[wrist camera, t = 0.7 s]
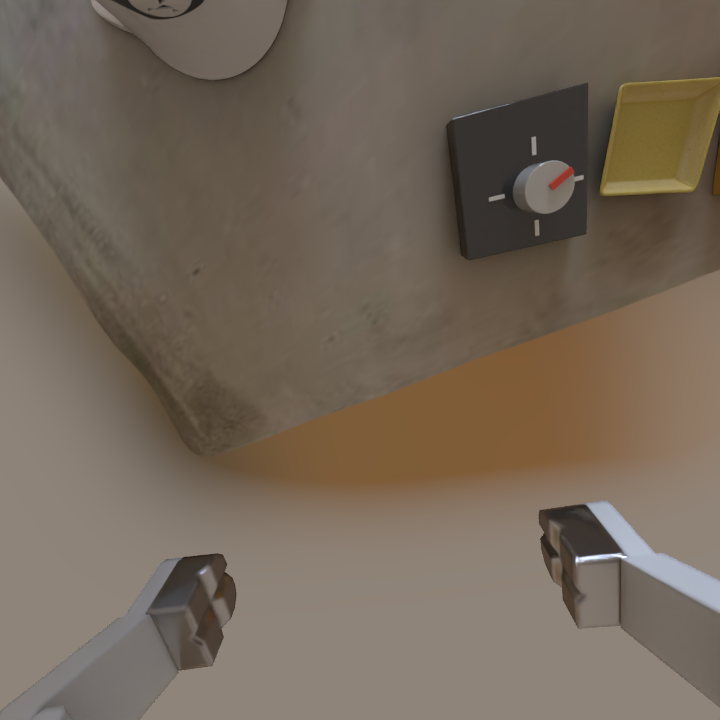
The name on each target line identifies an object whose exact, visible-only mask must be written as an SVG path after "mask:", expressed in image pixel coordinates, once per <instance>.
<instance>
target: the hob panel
mask: <svg viewBox="0 0 720 720" xmlns="http://www.w3.org/2000/svg"><path fill="white" fill-rule="evenodd" d="M446 128H447V136H448V145H449V154H450V162H451V171H452V179H453V188H454V196H455V205H456V214H457V222H458V231H459V239H460V248H461V256H463V257H464V258H466V259H467V260H472V259H476V258H481V257H485V256H490V255H494V254H499V253H503V252H508V251H512V250H517V249H521V248H526V247H531V246H535V245H540V244H544V243H549V242H553V241H558V240H562V239H567V238H571V237H576V236H580V235H585V234H586V221H587V136H588V83H585V84H581V85H577V86H573V87H570V88H566V89H562V90H558V91H555V92H551V93H547V94H543V95H540V96H536V97H532V98H528V99H525V100H521V101H517V102H513V103H510V104H506V105H502V106H498V107H494V108H491V109H487V110H483V111H479V112H476V113H472V114H468V115H464V116H461V117H457V118H453V119H452V120H451V121H450V122H449V123H448V124H447V125H446ZM552 160H556V161H561V162H564V163H565V164H567V165H568V166H569V167H572V169H573V170H574V173H573V174H574V178H575V185H574V190H573V193H572V195H571V197H570V199H569V200H568V202H567V203H566V204H565V205H564V206H563V207H562V208H560V209H559V210H557V211H555V212H553V213H549V214H539V213H529V212H525V211H523V210H521V209H520V208H519V207H518V206H517V205H516V203H515V201H514V199H513V186H514V183H515V181H516V179H517V177H518V175H519V174H520V173H521V172H522V171H523V170H524V169H525V168H527V167H528V166H531V165H533V164H537V163H542V162H547V161H552Z"/></svg>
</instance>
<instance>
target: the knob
mask: <svg viewBox="0 0 720 720" xmlns="http://www.w3.org/2000/svg"><path fill="white" fill-rule="evenodd" d="M573 173H574V170H573V169H572V167H569V166H568V165H567V164H565V163H564V162H561V161H556V160H552V161H547V162H542V163H537V164H533V165H531V166H528V167H527V168H525V169H524V170H523V171H522V172H521V173H520V174H519V175H518V177H517V179H516V181H515V183H514V186H513V199H514V201H515V203H516V205H517V206H518V207H519V208H520V209H521V210H523V211H525V212H529V213H539V214H549V213H553V212H555V211H557V210H559V209H560V208H562V207H563V206H564V205H565V204H566V203H567V202H568V200H569V199H570V197H571V195H572V193H573V190H574V185H575V178H574V174H573Z"/></svg>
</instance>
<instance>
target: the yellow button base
mask: <svg viewBox="0 0 720 720" xmlns="http://www.w3.org/2000/svg"><path fill="white" fill-rule="evenodd" d="M712 194H713V195H720V140H719V147H718V155H717V162H716V170H715V177H714V185H713V192H712Z"/></svg>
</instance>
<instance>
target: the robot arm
mask: <svg viewBox="0 0 720 720" xmlns="http://www.w3.org/2000/svg"><path fill="white" fill-rule="evenodd" d="M90 1H91V4H92V6H93V8H94V9H95V11H96V12H97V13H98V14H99V15H100V16H101V17H103V18H104V19H105V20H106V21H107V22H109V23H110V24H112V25H114V26H116V27H118V28H120V29H122V30H125V31H127V32H130V33H132V34H134V35H135V36H137V37H138V38H139V39H140V40H142V41H143V42H144V43H145V44H146V45H147V46H148V47H149V48H150V49H151V50H152V51H153V52H154V53H155V54H156V55H157V56H158V57H159V58H160V59H161V60H163V61H164V62H165V63H167V64H168V65H170V66H171V67H173V68H174V69H176V70H178V71H180V72H182V73H184V74H186V75H189V76H192V77H195V78H200V79H206V80H221V79H227V78H230V77H234V76H236V75H239V74H241V73H243V72H245V71H246V70H248V69H249V68H251V67H252V66H253V65H255V64H256V63H257V62H258V61H259V60H260V59H261V58H262V57H263V56H264V55H265V53H266V52H267V51H268V49H269V48H270V47H271V45H272V43H273V42H274V40H275V38H276V36H277V34H278V31H279V29H280V27H281V24H282V21H283V17H284V14H285V10H286V5H287V1H288V0H90ZM539 524H540V526H541V528H542V529H543V531H544V534H543V536H542V537H541V539H540V540H541V549H542V553H543V557H544V561H545V564H546V567H547V569H548V571H549V573H550V576H551V578H552V580H553V581H554V582H555V583H556V584H558V585H559V586H560V587H562V593H563V601H564V602H565V605H566V606H567V608H568V610H569V612H570V614H571V616H572V618H573V619H574V622H575V623H576V625H577V627H578V628H579V629H581V628H595V627H609V626H621V628H622V629H623V630H624V631H625V632H627V633H628V634H629V635H630V636H632V637H633V638H634V639H635V640H637V641H638V642H639V643H640V644H642V645H643V646H644V647H645V648H647V649H648V650H649V651H650V652H651V653H653V654H654V655H655V656H656V657H658V658H659V659H660V660H661V661H663V662H664V663H665V664H666V665H668V666H669V667H670V668H671V669H673V670H674V671H675V672H676V673H678V674H679V675H680V676H681V677H683V678H684V679H685V680H686V681H688V682H689V683H690V684H691V685H693V686H694V687H695V688H696V689H697V690H699V691H700V692H701V693H703V694H704V695H705V696H706V697H707V698H709V699H710V700H711V701H712V702H714V703H715V704H716V705H717V706H719V707H720V580H718V579H715V578H713V577H711V576H709V575H707V574H705V573H703V572H701V571H699V570H697V569H695V568H693V567H691V566H689V565H687V564H685V563H683V562H680V561H679V560H676V559H674V558H672V557H670V556H668V555H666V554H664V553H660V554H656V553H655V552H654V551H653V550H652V549H651V548H650V547H649V546H648V545H647V543H646V542H645V541H644V540H643V539H642V538H641V537H640V536H639V535H638V534H637V532H636V531H635V530H634V529H633V528H632V527H631V526H630V525H629V524H628V523H627V522H626V520H625V519H624V518H623V517H622V516H621V515H620V514H619V513H618V512H617V510H616V509H615V508H614V507H613V506H612V505H611V504H610V503H609V502H607V501H605V500H604V501H597V502H590V503H584V504H580V505H572V506H565V507H558V508H551V509H545V510H540V511H539ZM226 566H227V563H226V561H225V559H224V556H223V555H222V554H209V555H199V556H191V557H183V558H175V559H167V560H165V561H163V562H162V563H160V565H159V566H158V568H157V569H156V571H155V572H154V574H153V575H152V577H151V578H150V580H149V581H148V583H147V584H146V586H145V587H144V588H143V590H142V591H141V593H140V594H139V596H138V597H137V599H136V600H135V602H134V603H133V605H132V606H131V607H130V609H129V610H128V612H127V614H126V615H125V616H124V617H122V618H117V619H116V620H115V621H114V622H112V623H111V624H110V625H109V626H107V627H106V628H105V629H103V630H102V631H101V632H100V633H98V634H97V635H96V636H95V637H93V638H92V639H91V640H89V641H88V642H87V643H86V644H85V645H83V646H82V647H81V648H79V649H78V650H77V651H75V652H74V653H73V654H72V655H70V656H69V657H68V658H67V659H65V660H64V661H63V662H61V663H60V664H59V665H58V666H56V667H55V668H54V669H53V670H51V671H50V672H49V673H47V675H45V676H44V677H42V678H41V679H40V680H39V681H37V682H36V683H35V684H33V685H32V686H31V687H30V688H28V689H27V690H26V691H25V692H23V693H22V694H21V695H20V696H18V697H17V698H16V699H14V700H13V701H12V702H11V703H9V704H8V705H7V706H6V707H4V708H3V709H2V710H1V711H0V720H140V718H141V717H142V716H143V715H144V713H145V712H146V711H147V710H148V709H149V707H150V706H151V705H152V704H153V703H154V702H155V700H156V699H157V698H158V697H159V696H160V694H161V693H162V692H163V691H164V690H165V688H166V687H167V686H168V685H169V684H170V682H171V681H172V680H173V679H174V678H175V677H176V675H177V674H178V670H186V669H194V668H201V667H208V666H212V665H213V663H214V660H215V658H216V655H217V653H218V650H219V648H220V645H221V643H222V640H223V633H222V630H221V628H222V627H223V626H224V625H225V624H226V623H227V622H228V621H229V620H230V619H231V617H232V614H233V611H234V608H235V601H236V588H235V583H234V581H233V578H232V577H231V576H229V575H228V574H227V573H225V572H224V571H225V569H226Z"/></svg>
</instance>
